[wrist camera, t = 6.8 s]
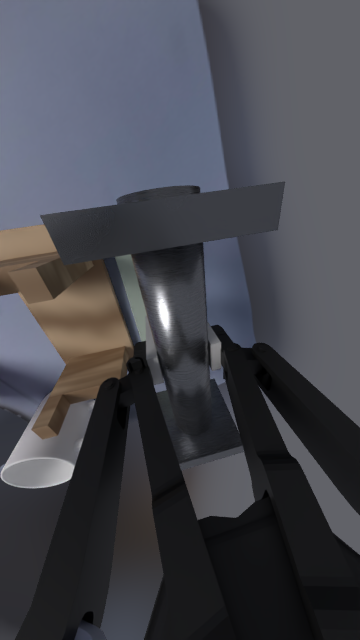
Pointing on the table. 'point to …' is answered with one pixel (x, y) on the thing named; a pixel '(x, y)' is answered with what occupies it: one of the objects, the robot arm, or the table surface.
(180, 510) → the robot arm
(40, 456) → the mug
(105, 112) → the table surface
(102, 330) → the cradle
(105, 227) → the rod
